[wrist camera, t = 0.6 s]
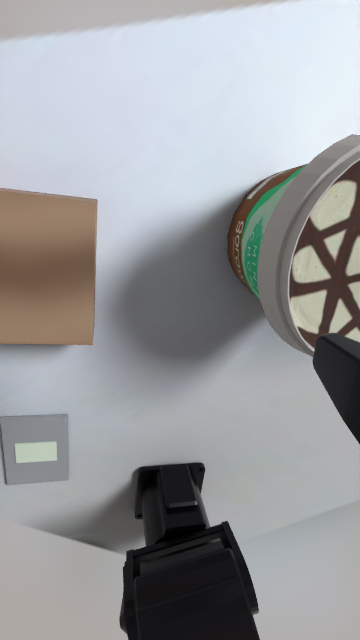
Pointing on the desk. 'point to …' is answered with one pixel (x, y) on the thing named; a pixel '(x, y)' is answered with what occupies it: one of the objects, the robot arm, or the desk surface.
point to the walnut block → (47, 268)
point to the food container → (304, 246)
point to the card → (35, 448)
